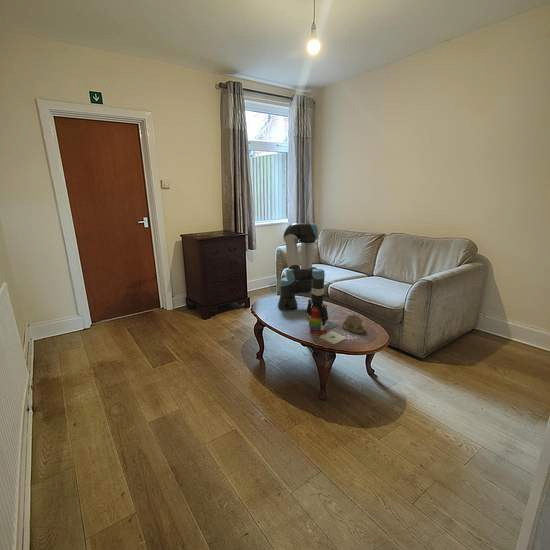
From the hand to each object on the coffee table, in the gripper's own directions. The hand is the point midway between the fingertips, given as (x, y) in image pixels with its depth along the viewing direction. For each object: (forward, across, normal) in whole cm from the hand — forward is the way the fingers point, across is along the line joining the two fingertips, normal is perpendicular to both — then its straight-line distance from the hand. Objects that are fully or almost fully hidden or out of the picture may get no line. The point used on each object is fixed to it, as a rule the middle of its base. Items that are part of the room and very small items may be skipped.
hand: (316, 326), depth 200 cm
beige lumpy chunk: (+4, +12, +22) cm, 25 cm away
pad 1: (+4, -3, +12) cm, 13 cm away
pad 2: (+4, +12, +2) cm, 13 cm away
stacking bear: (+4, 0, 0) cm, 4 cm away
